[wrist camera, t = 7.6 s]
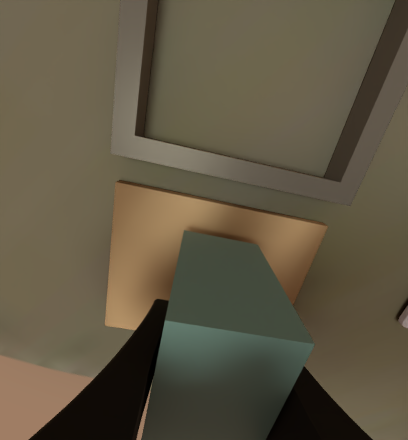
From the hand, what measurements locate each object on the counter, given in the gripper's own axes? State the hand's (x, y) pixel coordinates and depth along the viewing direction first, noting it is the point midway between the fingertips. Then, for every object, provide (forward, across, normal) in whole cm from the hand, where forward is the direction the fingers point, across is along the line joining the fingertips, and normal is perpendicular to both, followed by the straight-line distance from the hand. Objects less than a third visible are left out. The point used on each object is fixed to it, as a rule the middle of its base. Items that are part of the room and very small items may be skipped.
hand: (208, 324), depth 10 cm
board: (+4, 0, 0) cm, 4 cm away
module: (+2, 0, 0) cm, 2 cm away
